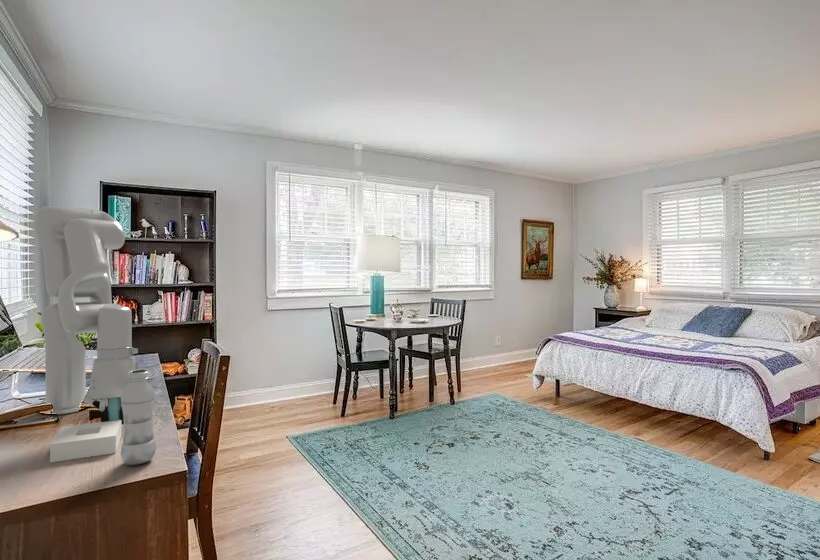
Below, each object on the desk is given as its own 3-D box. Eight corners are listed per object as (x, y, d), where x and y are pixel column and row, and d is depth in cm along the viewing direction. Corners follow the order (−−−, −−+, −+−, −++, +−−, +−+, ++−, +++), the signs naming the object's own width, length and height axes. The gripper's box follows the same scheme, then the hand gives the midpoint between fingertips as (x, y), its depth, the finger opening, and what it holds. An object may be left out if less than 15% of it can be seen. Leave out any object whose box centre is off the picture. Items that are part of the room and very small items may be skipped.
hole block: (62, 443, 108) (62, 426, 108) (121, 435, 114) (121, 419, 114) (50, 462, 98) (50, 444, 98) (115, 453, 103) (115, 435, 103)
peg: (108, 428, 118) (108, 392, 118) (121, 427, 120) (121, 391, 119) (106, 432, 116) (106, 395, 115) (120, 430, 117) (120, 394, 117)
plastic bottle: (162, 458, 101) (163, 369, 100) (135, 471, 94) (135, 376, 94) (141, 454, 103) (141, 367, 102) (113, 466, 96) (113, 373, 96)
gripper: (151, 349, 124) (151, 415, 125) (78, 353, 117) (78, 423, 117) (150, 354, 118) (149, 424, 118) (72, 358, 110) (72, 433, 110)
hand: (114, 423), depth 118 cm, fingers closed on peg, 3 cm apart
